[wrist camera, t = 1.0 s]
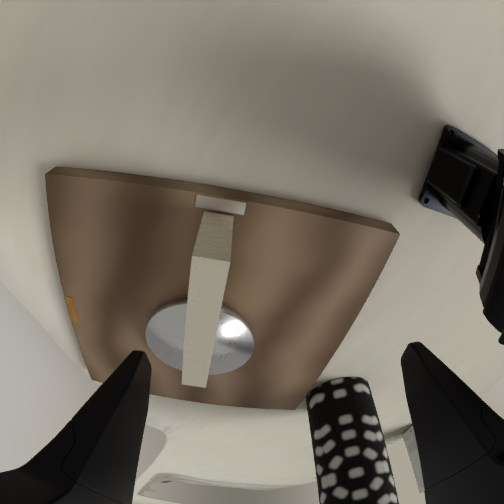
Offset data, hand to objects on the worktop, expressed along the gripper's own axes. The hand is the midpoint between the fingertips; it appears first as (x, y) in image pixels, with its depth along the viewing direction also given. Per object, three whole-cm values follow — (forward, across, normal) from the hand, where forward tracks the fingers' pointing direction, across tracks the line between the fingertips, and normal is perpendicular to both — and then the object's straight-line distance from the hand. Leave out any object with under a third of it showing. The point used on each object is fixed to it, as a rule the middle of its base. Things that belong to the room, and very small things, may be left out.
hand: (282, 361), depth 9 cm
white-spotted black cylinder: (+13, -10, +26) cm, 30 cm away
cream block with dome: (+10, +5, +8) cm, 14 cm away
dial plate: (+12, +5, +11) cm, 17 cm away
